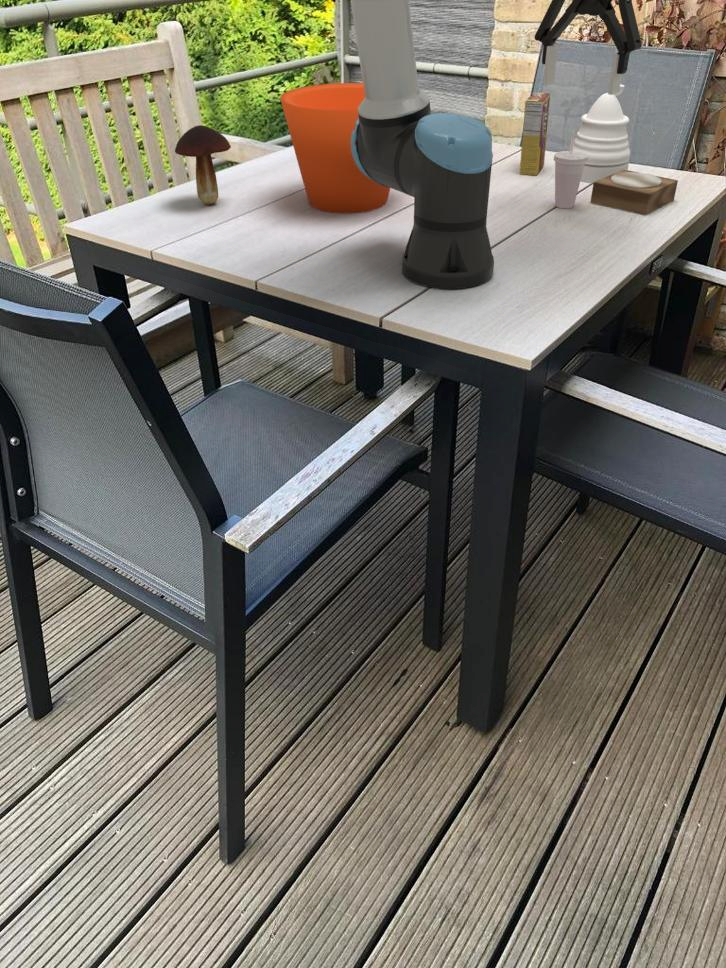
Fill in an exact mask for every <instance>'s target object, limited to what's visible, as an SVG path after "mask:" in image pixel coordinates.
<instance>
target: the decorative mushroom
mask: <svg viewBox="0 0 726 968" xmlns="http://www.w3.org/2000/svg"><path fill="white" fill-rule="evenodd" d="M231 148H232V145H231V144H230V143H229V141H228V139H227V138H226V137H225V136H224V135H223V134H222V133H220V132H219V131H217V130H215V129H213V128H211V127H209V126H206V125H196V126H195V125H194V126H193V127H191V128H190V129H188V130H187V131H186V132H184V133H183V134H182V136H181V137H180V138H179V139H178V141H177V143H176V146H175V148H174V153H176V155H179V156H183V157H190V158H193V157H194V158H195V182H196V183H195V184H196V194H197V198H198V200H199V201H200V202H201V203H202V204H204V205H213V204H214V203H216V202H217V201H218V199H219V188H218V182H217V180H218V179H217V175H216V170H215V167H214V163H213V158H212V154H217V153H223V152H227V151H229V150H230V149H231Z"/></svg>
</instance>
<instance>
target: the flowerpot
mask: <svg viewBox="0 0 726 968" xmlns="http://www.w3.org/2000/svg"><path fill="white" fill-rule="evenodd" d="M279 98H280V102H281V105H282V109H283V114H284V116H285V117H284V118H285V121H286V125H287V127H288V132H289V135H290V139H291V142H292V147H293V150H294V153H295V157H296V160H297V165H298V169H299V173H300V175H301V179H302V182H303V187H304V190H305V194H306V198H307V201H308V204H309V205H310V206H311V208H314V209H316V210H319V211H323V212H327V213H333V214H359V213H366V212H370V211H375V210H377V209H380V208H382V207H384V206H385V205H387V202H388V199H389V195H390V190H391V188H390V187H385V186H382V185H379V184H378V183H376V182H374V181H372V180H371V179H370V178H368V177H366V176H365V175H364V174H363V173H362V172H361V171H360V170H359V168H358V167H357V165H356V163H355V161H354V159H353V156H352V151H351V135H352V131H353V130H354V129H355V127H356V126H355V123H356V121H357V120H358V118H359V117H358V107H359V105H360V104H361V102H362V101H363V100H364V98H365V93H364V87H363V82H362V83H360V82H359V83H358V82H346V83H345V82H343V83H342V82H341V83H335V82H334V83H324V84H323V83H322V84H314V85H307V86H301V87H298V88H294V89H290V90H287V91H285V92H283V93H282V94H280V97H279ZM383 205H384V206H383ZM374 209H375V210H374Z"/></svg>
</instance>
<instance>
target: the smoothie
mask: <svg viewBox="0 0 726 968" xmlns="http://www.w3.org/2000/svg"><path fill="white" fill-rule="evenodd" d="M575 135H576V129H573V130H572V131H571V138H570V146H569V150H562V151H557V152H555V153H554V155H553V161H554V206H555V207H557V208H559V209H572V208H574V207H575V206H574V205H575V204H576V200H577V195H578V192H579V191H578V190H579V188H580V183H581V181H580V180H581V176H582V173H583V169H584V165H585V163H586V162H587V157H588V156H587V155H586V154H585V153H582V152H577V151H573V144H574V140H575V138H576V137H575Z"/></svg>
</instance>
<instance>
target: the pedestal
mask: <svg viewBox="0 0 726 968" xmlns="http://www.w3.org/2000/svg"><path fill="white" fill-rule="evenodd" d="M678 182H679V180H677V179H674V178H669V177H663V176H659V175H654V174H651V173H643V172H638V171H633V170H629V169H628V170H624V169H623V170H621V171H618V172H616V173H614V174H611V175H609V176H607V177H604V178H602V179H600V180H597V181H595V182H594V183H592V191H591V197H590V204H591V203H592V204H595V205H600V206H604V207H608V208H609V207H610V208H612V209H613V208H614V209H616V210H617V209H618V210H622V211H627V212H631V213H633V214H639V215H644V216H646V215H649V214H651V213H653V212H654V211H656V210H658V209H661V208H663V207H664V206H667V205H668V204H670V203H672V202H674V201H675V198H676V192H677V187H678ZM673 200H674V201H673ZM671 201H672V202H671ZM669 202H670V203H669Z"/></svg>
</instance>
